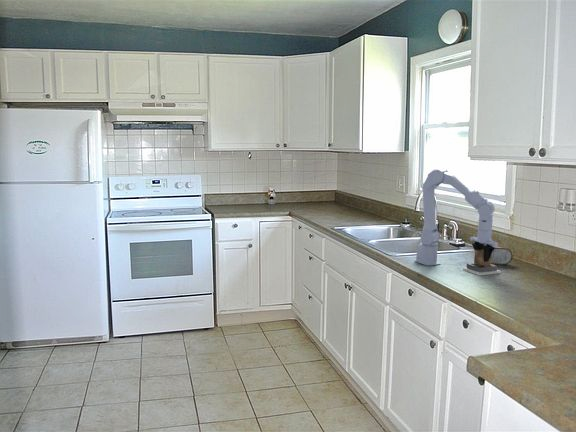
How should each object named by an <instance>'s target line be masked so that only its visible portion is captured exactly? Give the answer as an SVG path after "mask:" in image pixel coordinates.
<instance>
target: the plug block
mask: <svg viewBox="0 0 576 432" xmlns="http://www.w3.org/2000/svg"><path fill="white" fill-rule="evenodd" d="M473 257H474V259H473V263H474V264H478V265H489V264H491V258H492V254H491V256H490V259H489V262H484V251H483V249H481V250H474V256H473Z"/></svg>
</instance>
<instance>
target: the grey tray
mask: <svg viewBox="0 0 576 432" xmlns="http://www.w3.org/2000/svg"><path fill="white" fill-rule="evenodd" d="M462 271H464V272H467V273H471V274H473V275H476V276H486V275H494V274H495V275H497V274H501V270H499V269H498V265H497V264H489V265H478V264H474V262H469V263H466V266H465V267H463V268H462Z"/></svg>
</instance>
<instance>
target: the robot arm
mask: <svg viewBox="0 0 576 432" xmlns="http://www.w3.org/2000/svg"><path fill="white" fill-rule="evenodd" d="M441 184H443V185H449V186H451V187H453V189H455V190H457V191H458V192H459V193H460V194H461V195H463V196H464V200H465V201H466V202H467V203H468V204H470V206H472V207H473V208H474V209H475V210H477V213H478V214H479V215H478V223H477V235H476V236H470V239H469V240H470V242H471V245H472V247H473V249H474V251H475V250H481V249H483V251H484V262H489V259H490V256H491V254H492V252H493V250H494V249H495V247H498V246H499V242H496V241H494V240H493V239H492V233H493V223H494V222H493V216H494V215H493V213H494V212H495V205H494V204H493V202H491V201H489V200H488V199H487V198H484V197H483V196H482V195H481V194H480V192H479V191H476V190H475V189H474V190H472V189H471V190H470V189H469V188H468V187H467V186H466V185H465V184H463V182H462V181H460V180H459V179H458V177H456V176H455V175H454V174H453V173H452V172H450V171H448V170H447V169H446V168H439V169H433V170H431V171H430V172H429V173H428V174H427V177H426V179H425V181H424V182H423V185H422V205H423V227H422V229H421V230H422V231H421V235H420V243H419V244H418V245H417V247H416V257H415V259H414V262H415V263H418V264H422V265H424V266H427V267H428V266H438V265H441V263H440V262H438V249H439V248H438V247H439V246H438V244H439V243H438V241H439V240H440V237H441V235H440V232H439V230H438V225H437V224H436V222H437V221H436V199H435V195H436V194H435V190H436V189H437V188H438V187H439V186H440V185H441Z"/></svg>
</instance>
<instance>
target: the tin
mask: <svg viewBox="0 0 576 432" xmlns="http://www.w3.org/2000/svg"><path fill="white" fill-rule="evenodd" d="M513 257H514V255H513V252H512V250H511V249H510V248H509V247H506V246H500V245H498V247H495V249H494V250H493V252H492V258H491V264H492V265H499V264H502V265H503V266H505V265H508V264H509V263H511V262H512V260H513ZM502 265H501V266H502Z"/></svg>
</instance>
